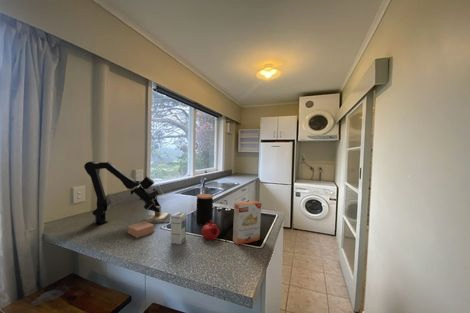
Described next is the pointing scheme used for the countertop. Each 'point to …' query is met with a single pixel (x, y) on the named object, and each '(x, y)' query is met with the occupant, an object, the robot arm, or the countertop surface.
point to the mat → (159, 222)
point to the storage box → (140, 229)
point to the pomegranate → (210, 231)
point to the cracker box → (246, 222)
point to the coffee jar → (204, 209)
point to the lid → (157, 216)
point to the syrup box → (178, 227)
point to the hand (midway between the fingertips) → (160, 209)
